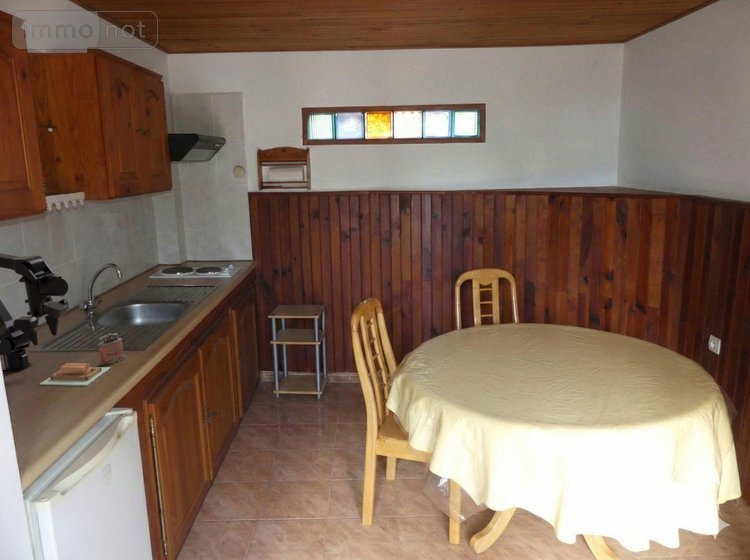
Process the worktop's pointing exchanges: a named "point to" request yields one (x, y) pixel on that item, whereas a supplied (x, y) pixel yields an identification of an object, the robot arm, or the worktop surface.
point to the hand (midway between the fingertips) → (45, 340)
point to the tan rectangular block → (76, 369)
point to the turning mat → (75, 378)
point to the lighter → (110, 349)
